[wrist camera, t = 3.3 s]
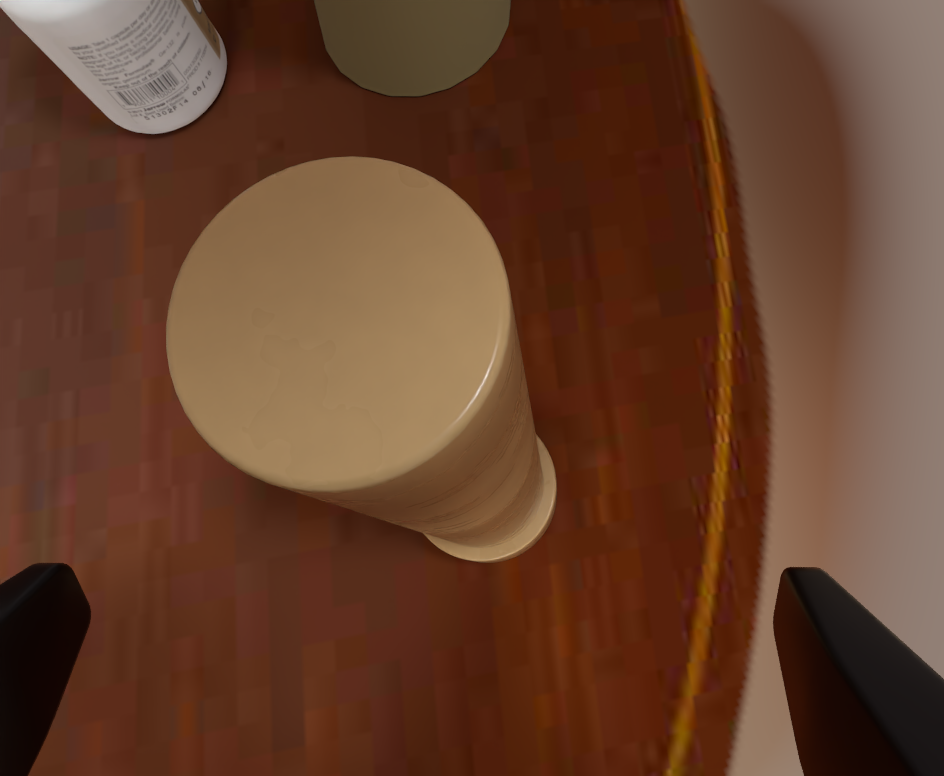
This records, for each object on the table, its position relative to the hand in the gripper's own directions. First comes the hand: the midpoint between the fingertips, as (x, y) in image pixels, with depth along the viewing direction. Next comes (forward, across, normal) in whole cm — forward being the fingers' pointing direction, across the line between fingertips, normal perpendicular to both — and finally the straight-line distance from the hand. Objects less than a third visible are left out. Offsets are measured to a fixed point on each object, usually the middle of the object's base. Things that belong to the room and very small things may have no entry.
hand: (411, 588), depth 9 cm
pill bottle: (+18, +10, -4) cm, 21 cm away
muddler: (+9, 0, +6) cm, 10 cm away
